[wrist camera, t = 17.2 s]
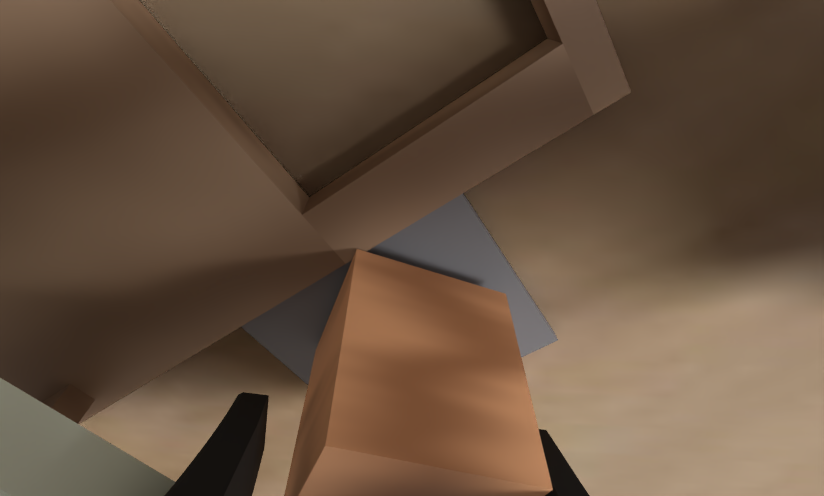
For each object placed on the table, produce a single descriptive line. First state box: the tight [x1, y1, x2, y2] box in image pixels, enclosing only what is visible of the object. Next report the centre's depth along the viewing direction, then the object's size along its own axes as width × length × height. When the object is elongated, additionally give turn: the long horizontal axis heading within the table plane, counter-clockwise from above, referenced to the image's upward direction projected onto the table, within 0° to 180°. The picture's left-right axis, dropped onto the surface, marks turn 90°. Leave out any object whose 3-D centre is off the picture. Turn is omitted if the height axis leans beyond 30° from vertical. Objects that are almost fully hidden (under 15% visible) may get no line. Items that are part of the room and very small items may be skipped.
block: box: [284, 249, 553, 496], centre depth 13 cm, size 5×5×6 cm
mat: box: [241, 193, 558, 385], centre depth 16 cm, size 9×9×1 cm
